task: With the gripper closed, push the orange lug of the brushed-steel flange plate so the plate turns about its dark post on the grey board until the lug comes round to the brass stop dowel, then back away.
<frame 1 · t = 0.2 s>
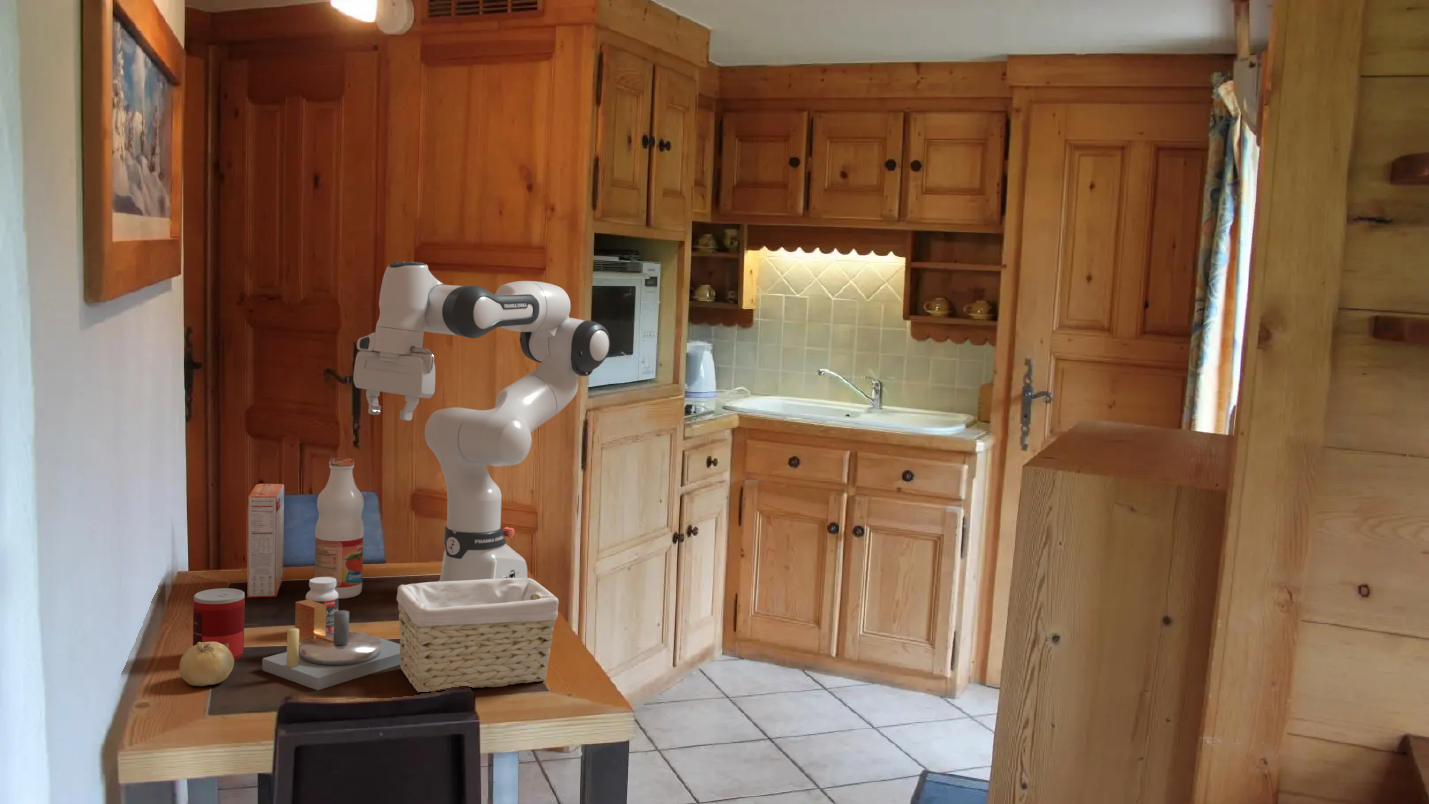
hand: (389, 417, 214), 39 cm above the table, tool pointing down, fingers open, 8 cm apart
pill bottle: (321, 634, 206), on the table
post board: (340, 664, 190), on the table
storage basket: (474, 677, 189), on the table
fruit juice: (338, 594, 232), on the table
canned food: (218, 658, 190), on the table
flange: (333, 630, 190), point 6 cm above the table, hinge at 0.0°
onion: (206, 683, 178), on the table
cracker box: (264, 589, 233), on the table
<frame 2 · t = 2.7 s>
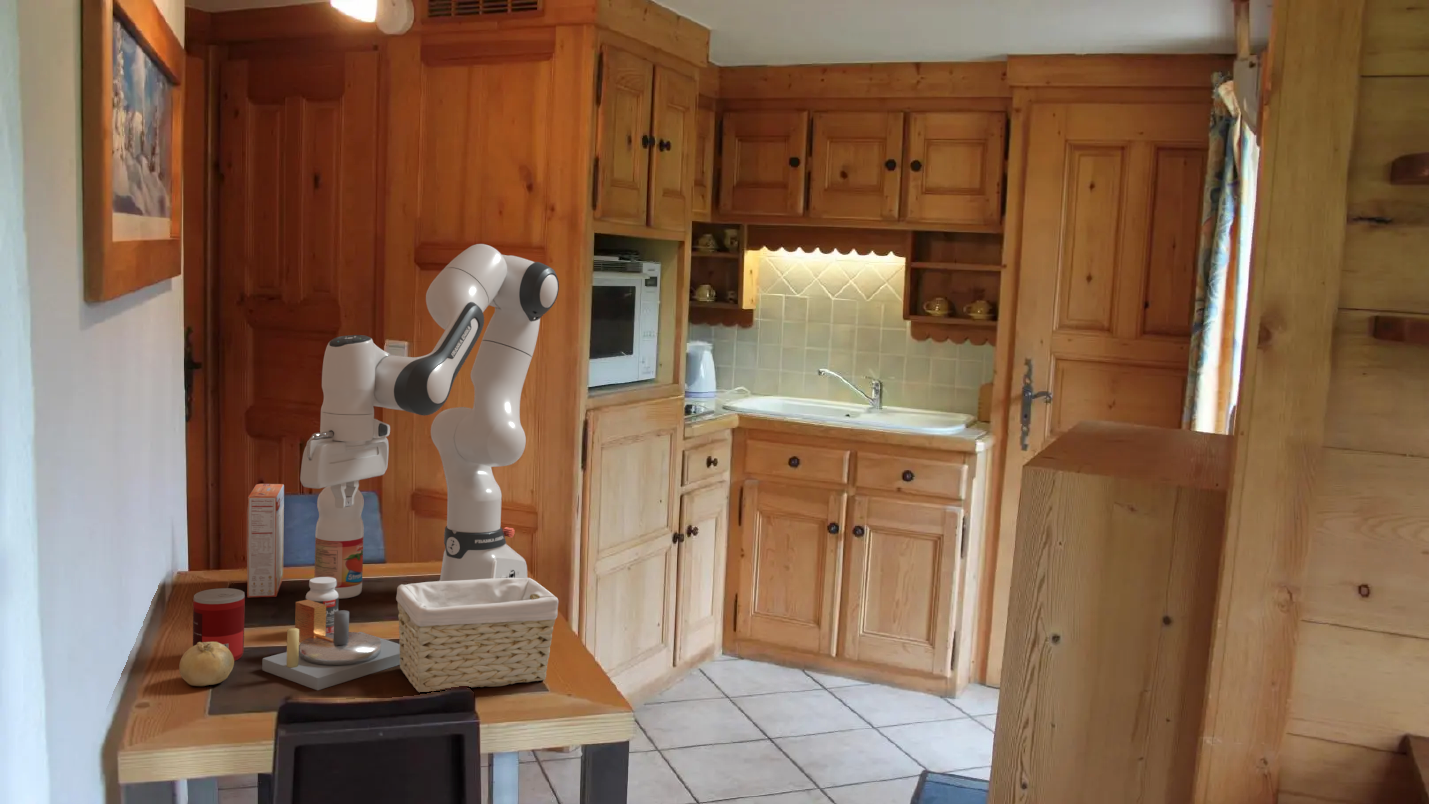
hand: (344, 507, 197), 25 cm above the table, tool pointing down, fingers closed
nothing on the table moved.
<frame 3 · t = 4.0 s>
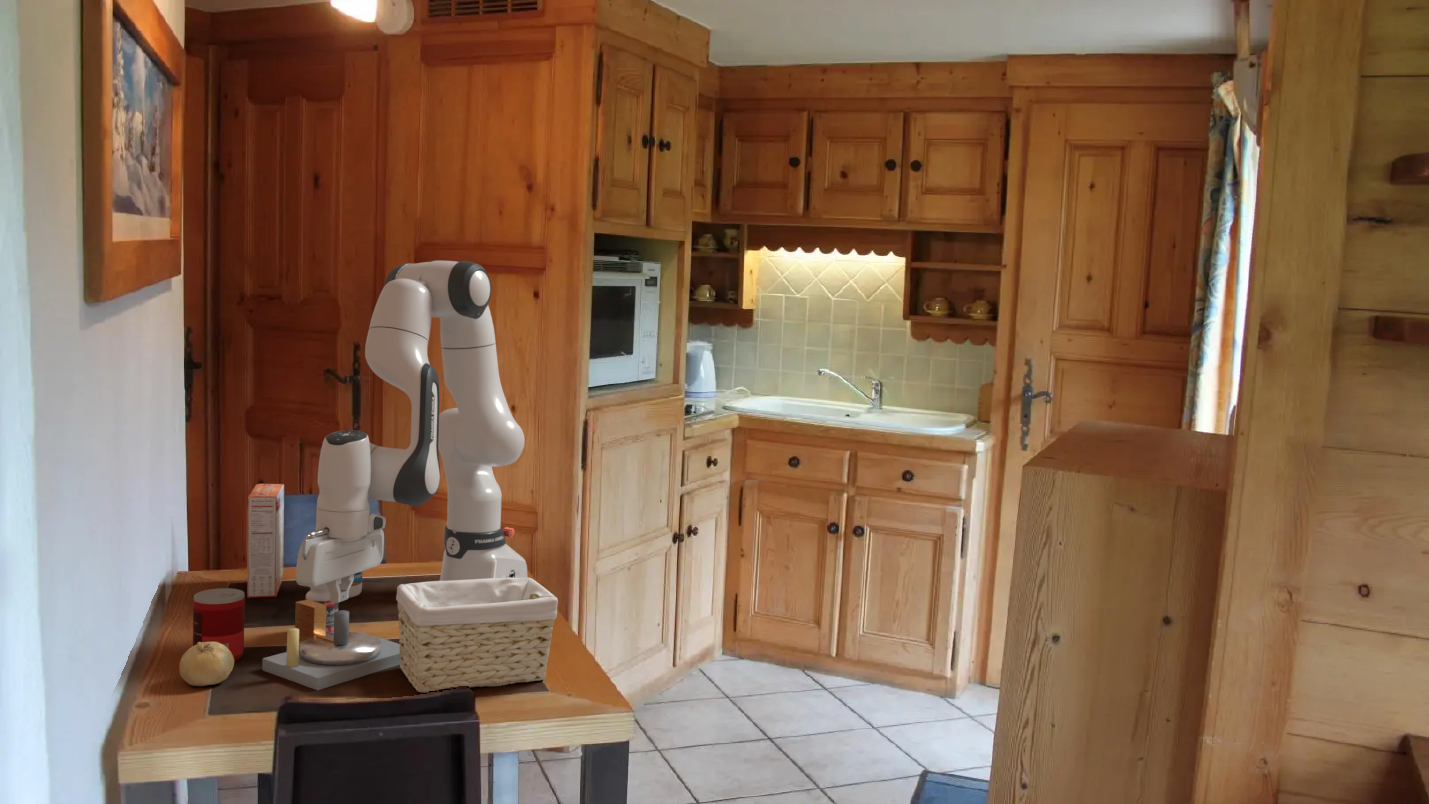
hand: (339, 600, 199), 8 cm above the table, tool pointing down, fingers closed
nothing on the table moved.
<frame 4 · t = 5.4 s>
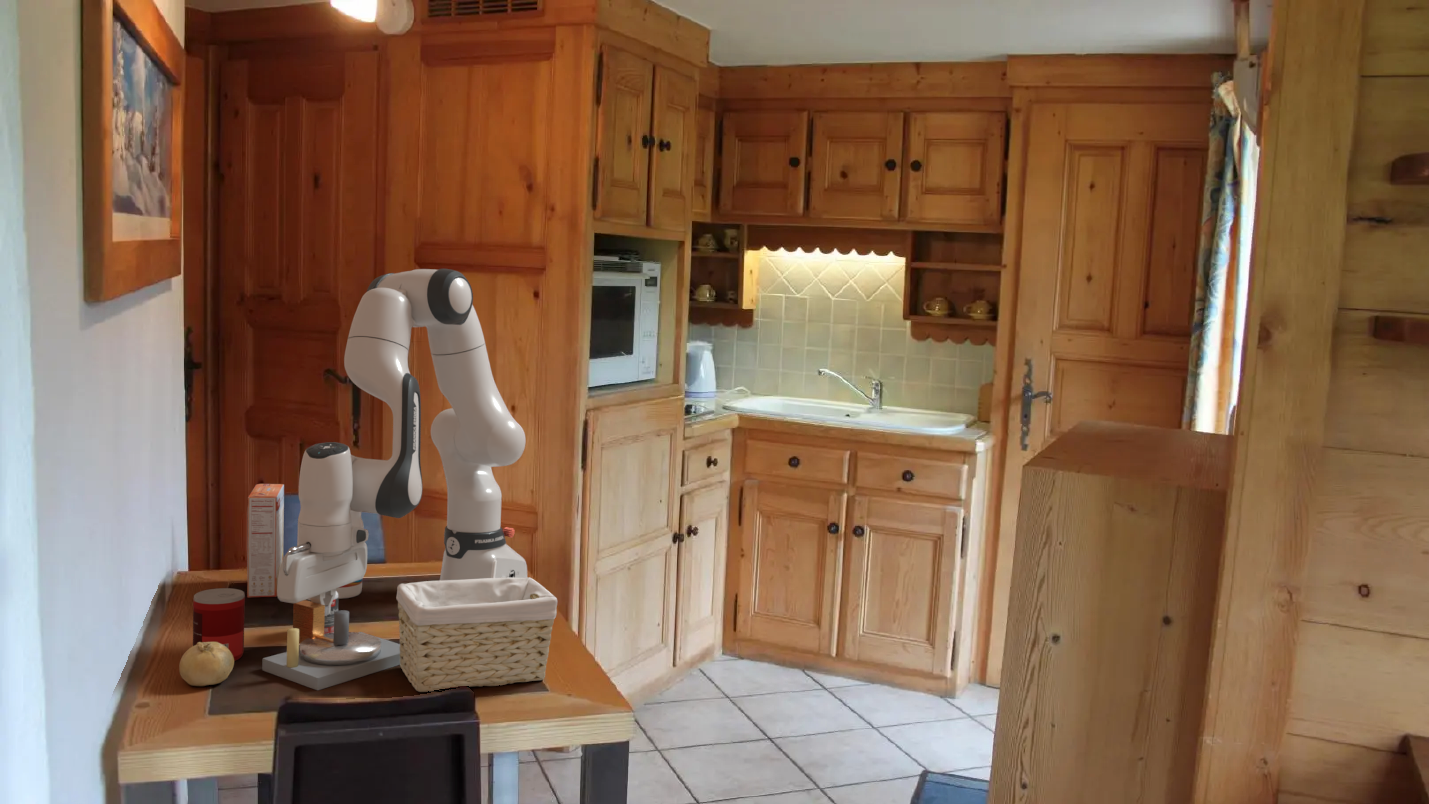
hand: (322, 615, 196), 6 cm above the table, tool pointing down, fingers closed
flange: (332, 630, 190), point 6 cm above the table, hinge at 2.6°, touching gripper
everything else where it was.
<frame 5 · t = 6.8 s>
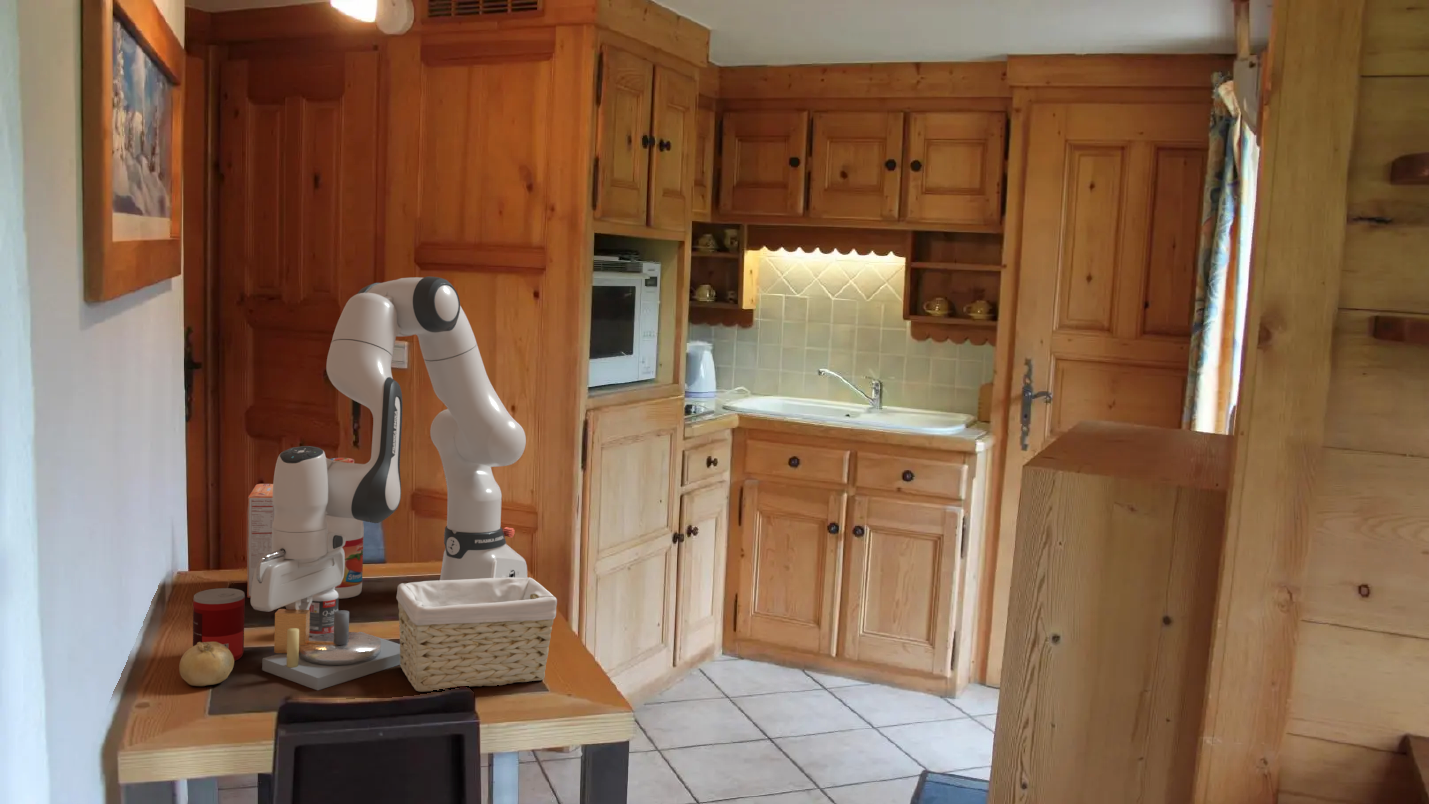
hand: (298, 623, 192), 6 cm above the table, tool pointing down, fingers closed
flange: (328, 632, 189), point 6 cm above the table, hinge at 38.3°, touching gripper
everything else where it was.
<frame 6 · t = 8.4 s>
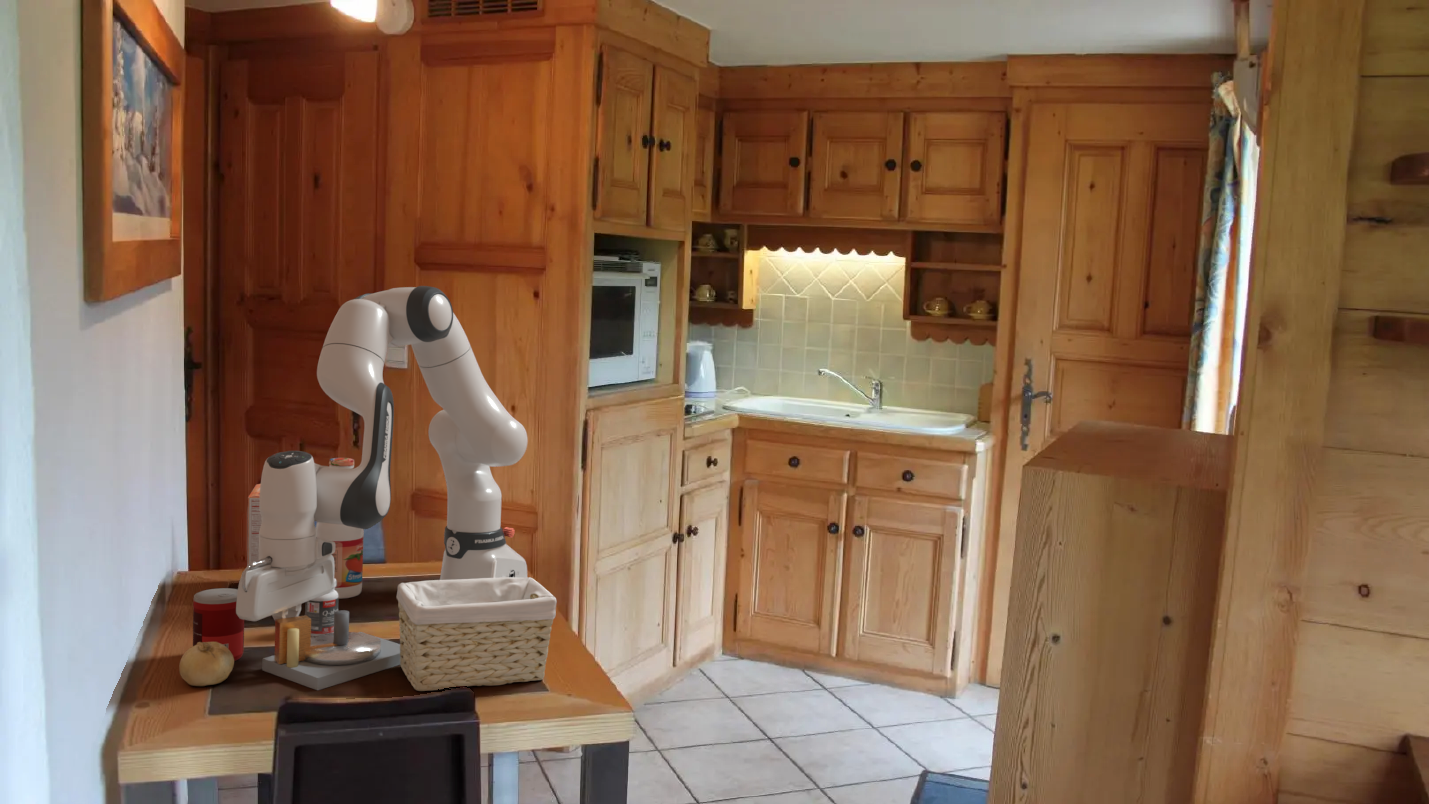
hand: (286, 632, 187), 6 cm above the table, tool pointing down, fingers closed
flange: (329, 634, 188), point 6 cm above the table, hinge at 71.1°, touching gripper
everything else where it was.
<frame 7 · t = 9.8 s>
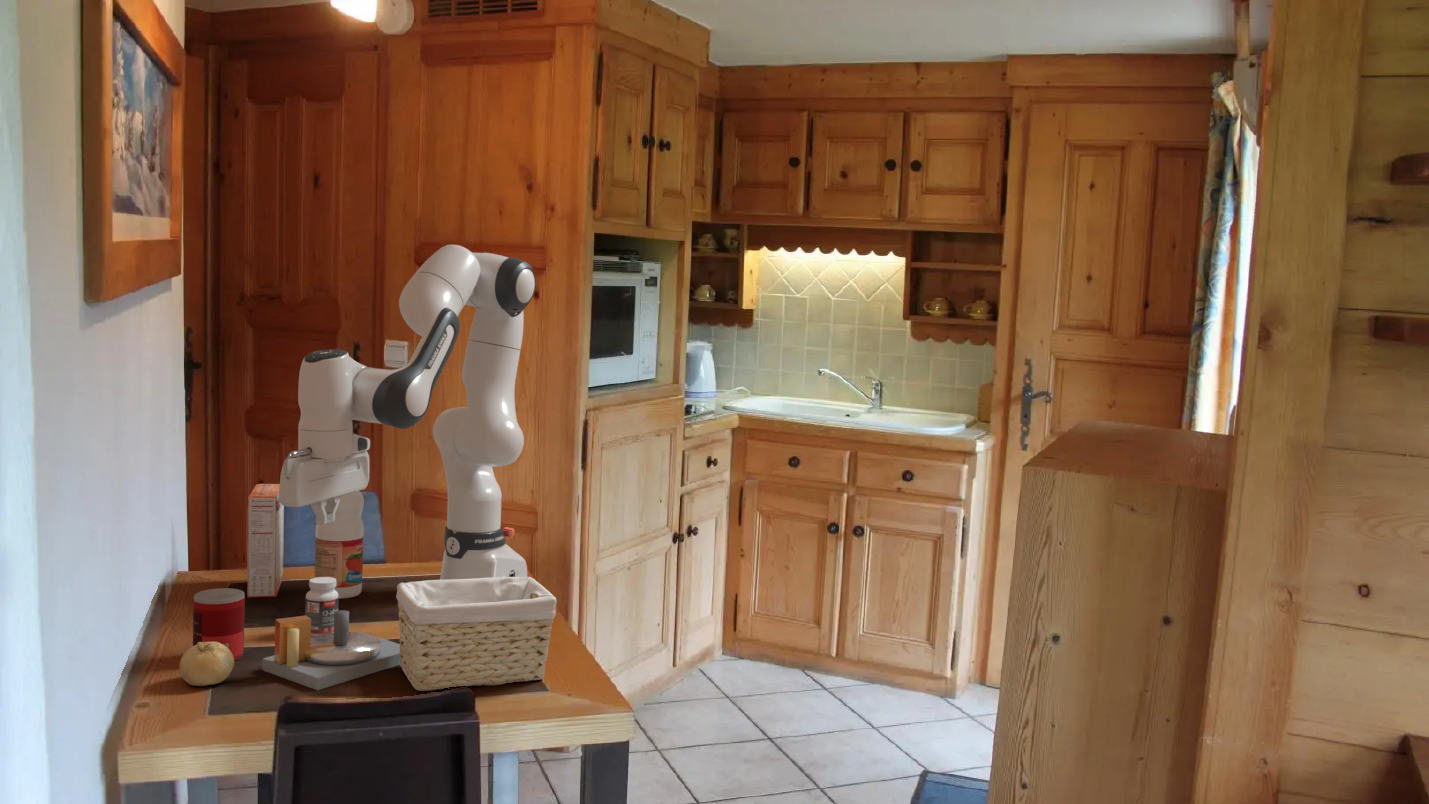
hand: (325, 523, 195), 22 cm above the table, tool pointing down, fingers closed
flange: (329, 634, 188), point 6 cm above the table, hinge at 71.2°
everything else where it was.
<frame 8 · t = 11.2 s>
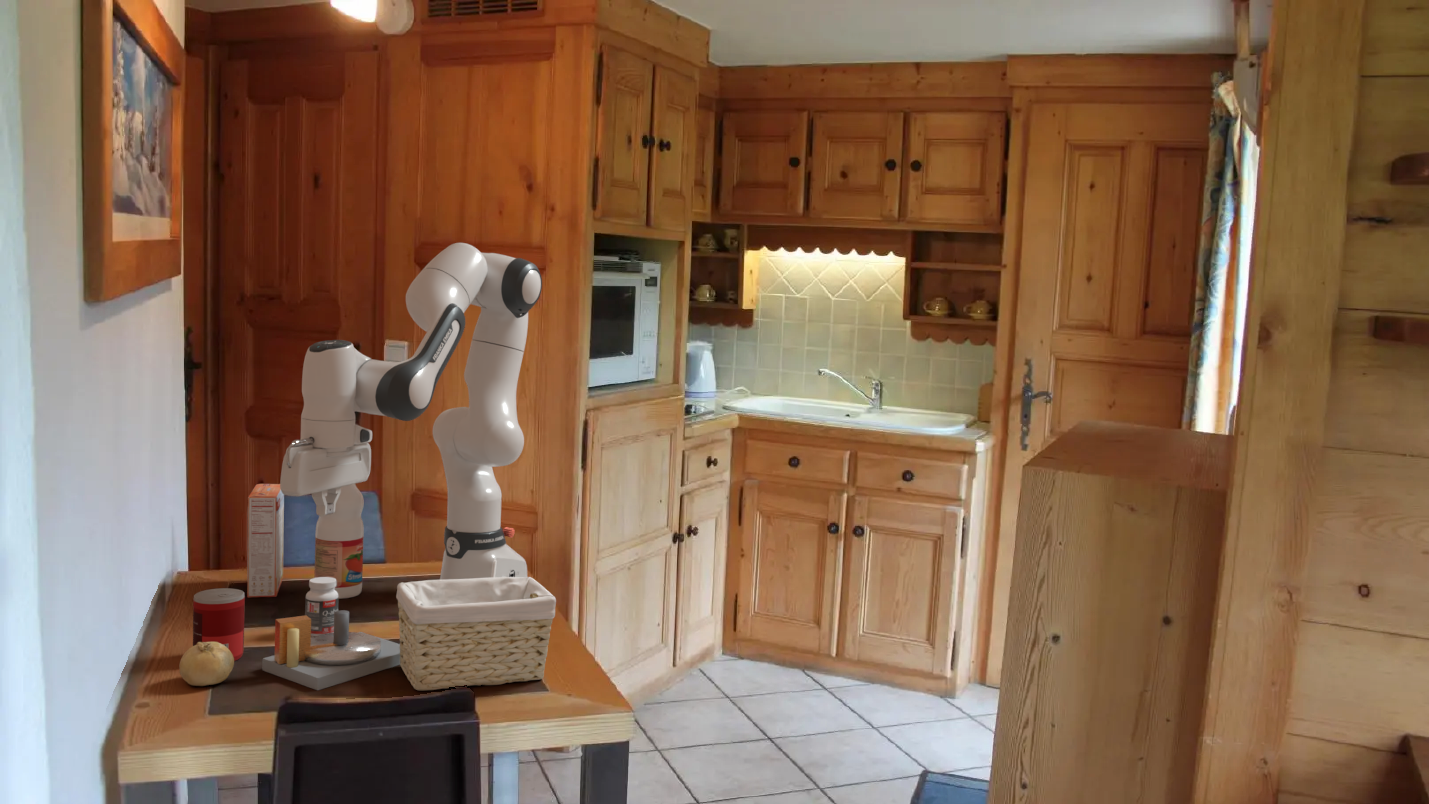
hand: (325, 514, 195), 24 cm above the table, tool pointing down, fingers closed
at the end: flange at +71° (first picture: +0°) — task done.
